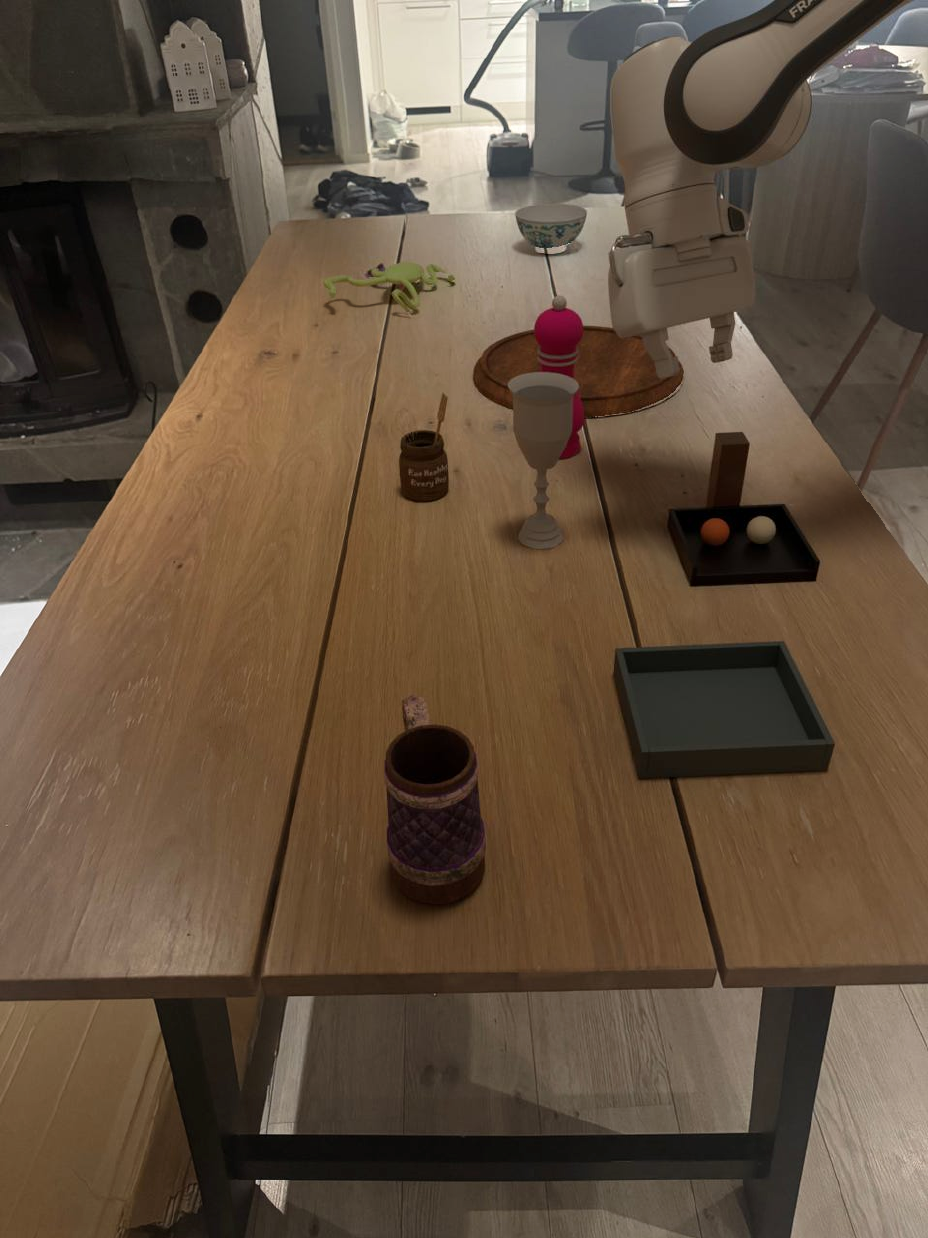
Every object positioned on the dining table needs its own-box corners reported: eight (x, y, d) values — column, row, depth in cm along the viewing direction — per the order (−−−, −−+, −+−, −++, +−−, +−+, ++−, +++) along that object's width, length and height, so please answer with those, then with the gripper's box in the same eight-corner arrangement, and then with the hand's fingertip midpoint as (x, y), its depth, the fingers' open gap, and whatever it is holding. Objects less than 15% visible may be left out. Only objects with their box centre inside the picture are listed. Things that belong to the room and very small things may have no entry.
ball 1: (723, 536, 102) (727, 512, 100) (730, 550, 100) (734, 526, 98) (696, 537, 102) (699, 513, 100) (702, 551, 100) (706, 527, 98)
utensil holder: (394, 485, 116) (386, 394, 108) (442, 475, 117) (437, 385, 110) (409, 506, 111) (402, 413, 104) (458, 496, 113) (454, 403, 106)
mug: (496, 898, 66) (493, 779, 58) (396, 917, 65) (381, 798, 57) (468, 793, 74) (463, 678, 67) (379, 808, 73) (364, 692, 66)
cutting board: (446, 406, 134) (445, 390, 133) (504, 332, 159) (503, 317, 157) (669, 428, 126) (670, 410, 125) (694, 345, 150) (695, 330, 149)
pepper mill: (554, 466, 118) (558, 309, 106) (516, 448, 123) (516, 295, 111) (594, 449, 122) (602, 295, 110) (556, 431, 126) (560, 282, 114)
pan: (773, 508, 108) (788, 429, 102) (816, 580, 96) (835, 495, 90) (661, 513, 108) (670, 434, 102) (690, 586, 96) (701, 501, 90)
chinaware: (550, 236, 207) (551, 199, 202) (600, 249, 198) (602, 210, 193) (500, 250, 200) (500, 212, 195) (549, 264, 190) (550, 224, 186)
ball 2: (768, 534, 102) (773, 510, 100) (777, 548, 100) (781, 524, 98) (741, 535, 102) (745, 511, 100) (749, 549, 100) (753, 525, 98)
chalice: (582, 530, 105) (590, 379, 95) (556, 559, 101) (561, 403, 90) (525, 515, 108) (526, 367, 98) (497, 543, 104) (495, 390, 93)
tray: (778, 666, 85) (784, 640, 83) (827, 770, 74) (835, 743, 73) (613, 673, 85) (615, 648, 83) (638, 779, 74) (641, 752, 73)
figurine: (314, 314, 170) (310, 283, 167) (380, 272, 190) (377, 243, 186) (405, 324, 164) (402, 292, 161) (463, 279, 183) (462, 250, 180)
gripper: (633, 227, 84) (659, 382, 87) (757, 212, 96) (775, 348, 99) (582, 245, 88) (608, 391, 92) (705, 228, 101) (725, 357, 104)
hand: (696, 368), depth 96 cm, fingers open, 8 cm apart
